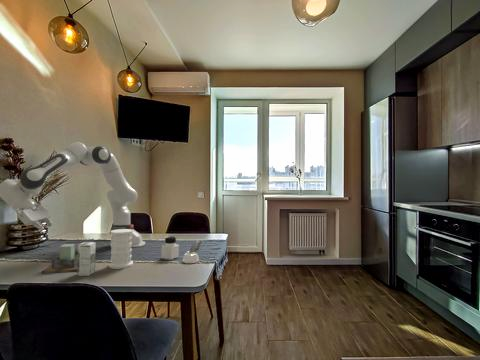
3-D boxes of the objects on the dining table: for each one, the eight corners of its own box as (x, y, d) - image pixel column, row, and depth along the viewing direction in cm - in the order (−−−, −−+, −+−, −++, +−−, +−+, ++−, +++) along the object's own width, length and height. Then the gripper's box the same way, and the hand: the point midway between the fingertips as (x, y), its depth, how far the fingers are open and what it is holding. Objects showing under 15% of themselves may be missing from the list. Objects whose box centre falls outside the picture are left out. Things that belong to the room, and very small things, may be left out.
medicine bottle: (179, 257, 168) (179, 236, 168) (171, 260, 162) (171, 238, 162) (169, 255, 171) (169, 235, 171) (161, 258, 165) (161, 237, 165)
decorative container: (109, 270, 142) (110, 233, 142) (108, 264, 153) (108, 229, 153) (134, 267, 148) (135, 231, 148) (131, 261, 158) (132, 228, 158)
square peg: (74, 263, 149) (74, 244, 149) (70, 266, 144) (70, 246, 144) (63, 264, 148) (63, 244, 148) (59, 266, 143) (59, 246, 143)
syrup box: (82, 272, 138) (82, 241, 139) (95, 272, 139) (95, 241, 139) (76, 276, 133) (77, 244, 133) (90, 276, 133) (90, 244, 133)
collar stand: (89, 262, 156) (89, 252, 156) (78, 271, 140) (78, 260, 140) (56, 263, 153) (56, 253, 153) (41, 272, 137) (41, 262, 137)
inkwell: (179, 262, 157) (179, 244, 157) (193, 254, 174) (193, 237, 174) (194, 264, 154) (195, 245, 154) (207, 255, 172) (208, 238, 172)
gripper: (20, 205, 134) (42, 226, 136) (41, 201, 154) (60, 220, 156) (8, 214, 133) (31, 235, 135) (31, 209, 153) (51, 228, 155)
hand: (47, 227), depth 146 cm, fingers open, 8 cm apart
